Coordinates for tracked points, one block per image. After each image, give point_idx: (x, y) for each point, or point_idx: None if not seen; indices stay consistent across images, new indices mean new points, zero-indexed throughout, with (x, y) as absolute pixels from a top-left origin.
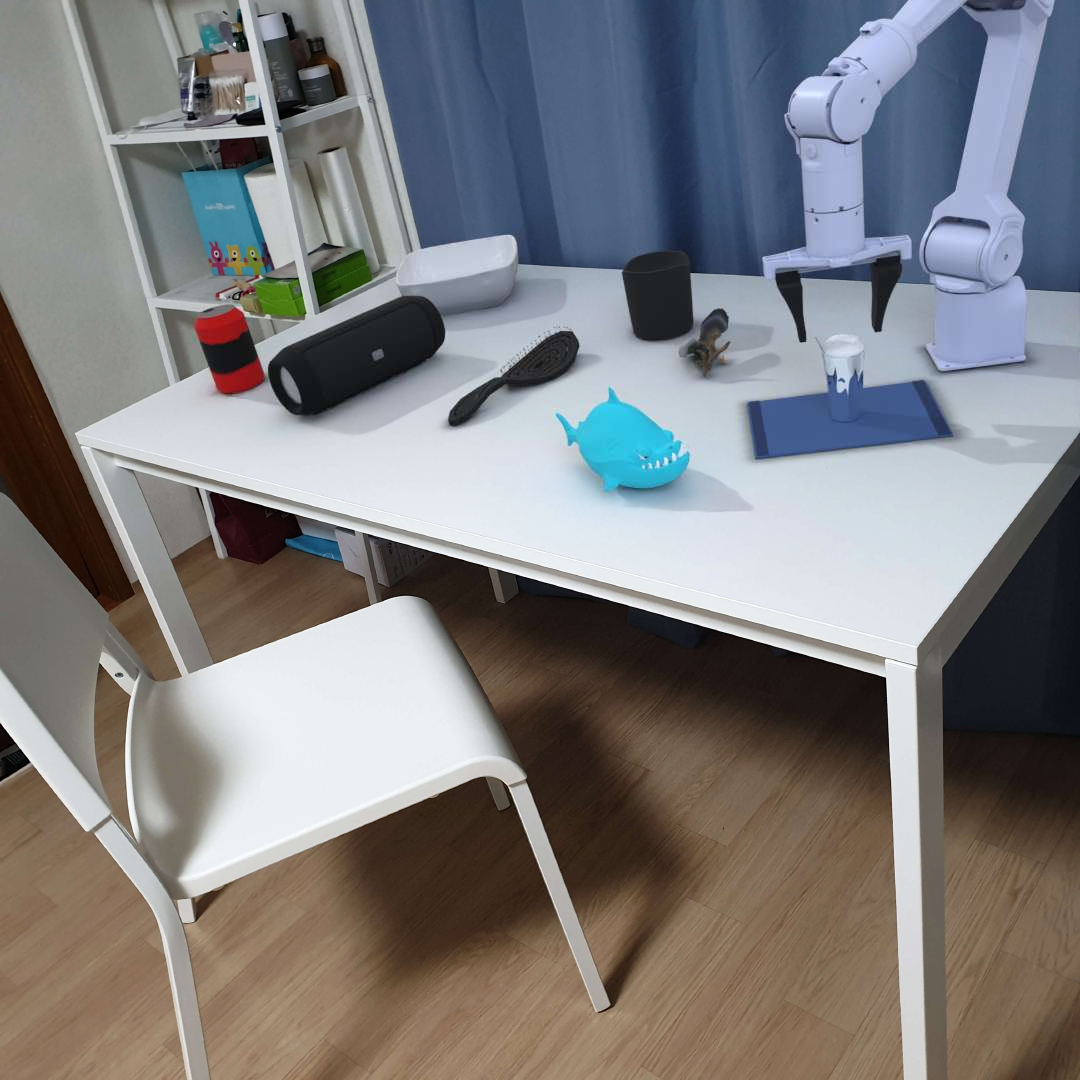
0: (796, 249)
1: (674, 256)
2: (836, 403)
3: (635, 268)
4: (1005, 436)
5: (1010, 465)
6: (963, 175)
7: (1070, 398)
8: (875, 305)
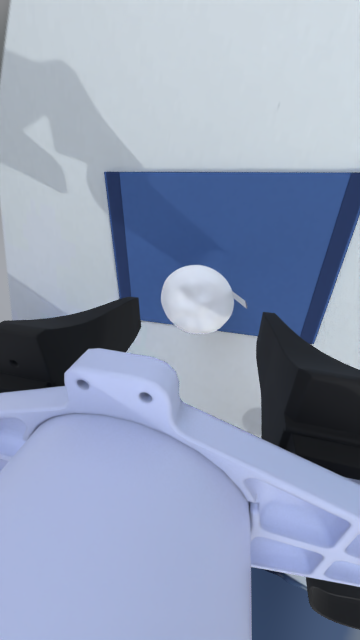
0: (272, 568)
1: (320, 605)
2: (224, 257)
3: None
4: (53, 154)
5: (46, 53)
6: None
7: (4, 232)
8: (113, 324)
